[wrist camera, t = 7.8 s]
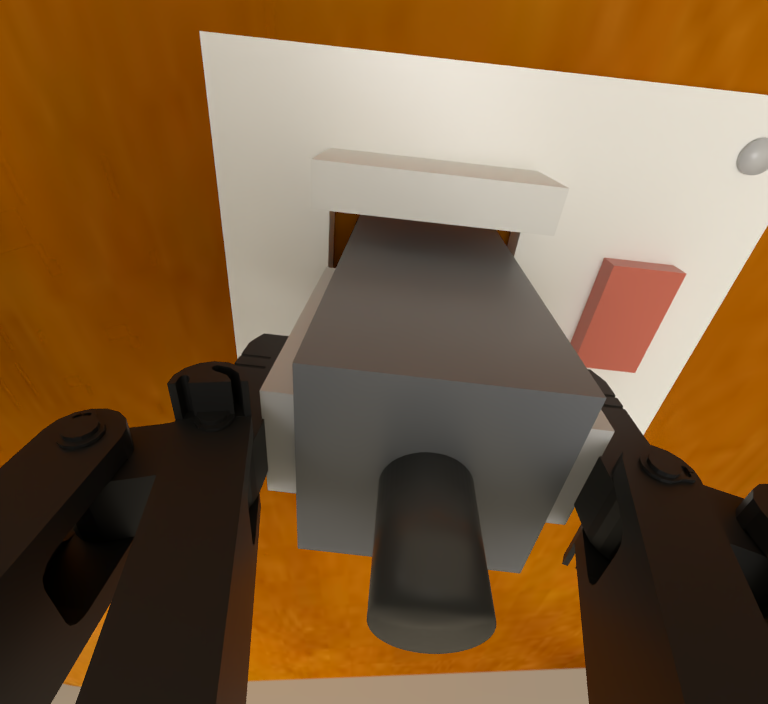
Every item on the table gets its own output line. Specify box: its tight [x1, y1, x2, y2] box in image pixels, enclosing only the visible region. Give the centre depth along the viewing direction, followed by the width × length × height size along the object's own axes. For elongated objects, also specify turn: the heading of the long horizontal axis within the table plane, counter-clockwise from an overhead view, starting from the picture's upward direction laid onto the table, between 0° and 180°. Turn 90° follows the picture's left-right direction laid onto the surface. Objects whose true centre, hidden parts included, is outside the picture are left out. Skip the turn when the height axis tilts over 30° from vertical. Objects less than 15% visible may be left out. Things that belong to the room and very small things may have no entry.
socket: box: [199, 31, 768, 435], centre depth 14 cm, size 18×14×4 cm
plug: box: [292, 214, 606, 654], centre depth 11 cm, size 5×5×12 cm
